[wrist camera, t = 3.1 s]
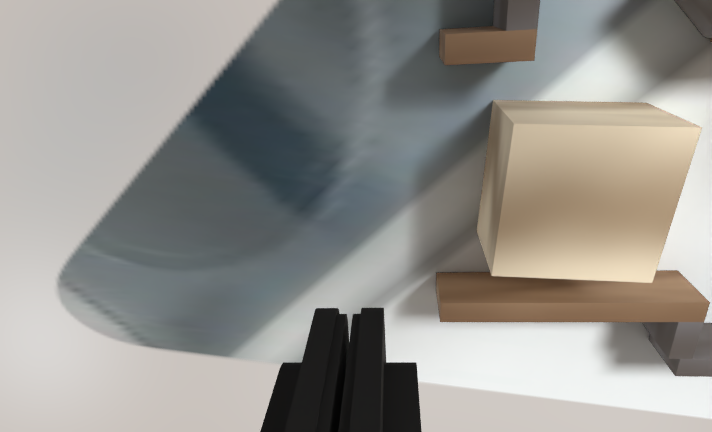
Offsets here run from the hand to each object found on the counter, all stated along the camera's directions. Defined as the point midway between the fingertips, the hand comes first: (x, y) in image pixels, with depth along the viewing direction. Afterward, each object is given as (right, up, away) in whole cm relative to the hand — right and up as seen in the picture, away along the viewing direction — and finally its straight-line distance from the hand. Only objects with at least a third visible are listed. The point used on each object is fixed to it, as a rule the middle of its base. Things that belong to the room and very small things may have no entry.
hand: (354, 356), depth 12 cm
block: (+9, +5, +9) cm, 13 cm away
